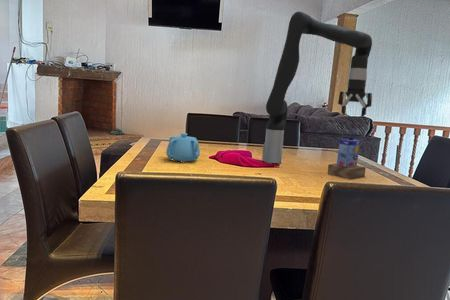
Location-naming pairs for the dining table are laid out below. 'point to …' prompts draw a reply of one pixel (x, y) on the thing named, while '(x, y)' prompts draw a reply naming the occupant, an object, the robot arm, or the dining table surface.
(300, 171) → the dining table surface
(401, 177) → the dining table surface
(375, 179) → the dining table surface
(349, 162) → the ink cartridge box
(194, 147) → the decorative pot
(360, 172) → the walnut block
